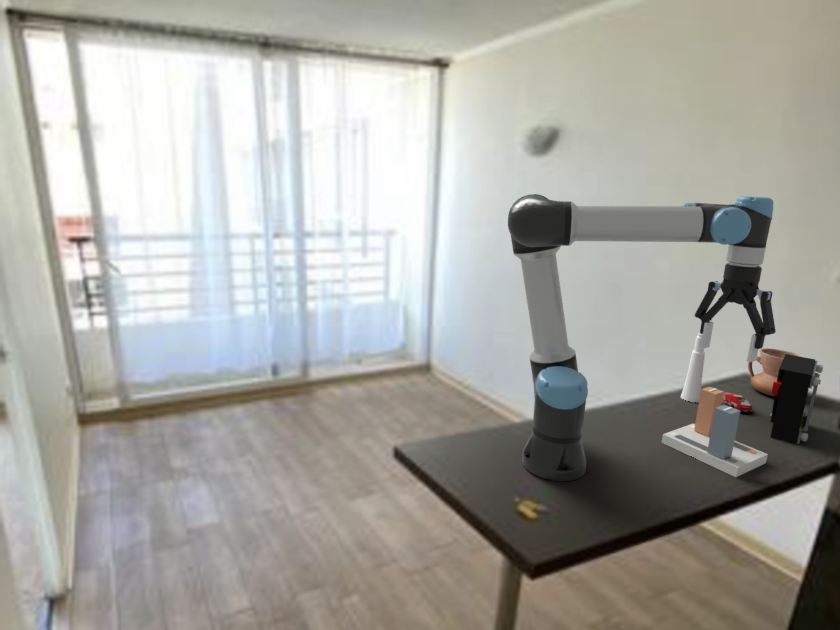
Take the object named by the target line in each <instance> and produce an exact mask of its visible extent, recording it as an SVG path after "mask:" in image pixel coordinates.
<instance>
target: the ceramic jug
mask: <svg viewBox="0 0 840 630" xmlns="http://www.w3.org/2000/svg"><path fill="white" fill-rule="evenodd" d="M785 354H789V355H794V356H800V357H804V356H803V355H801V354H799V353H797V352H793V351H788V350H784V349H783V350H781V349H776V348H766V347H765V348H761V349H760V354H759V355H760V356H758V355H757V359H756V361H757V362H758V363H759V364H760V365H761V367H762V370H763V371H761V372H759V373H757V374H755V373H754V370H753V362H748V361H747V370H748V373H749V376H750V384H751V386H752V387H753V388H754V389H755V390H756V391H758V392H760V393H762V394H764V395H767V396H769V397H774V396H775V395H773V394H772V388H773V382H777V377H778V373H779V368H780V366H781V364H782V361H783V359H784V356H785ZM756 361H755V362H756Z"/></svg>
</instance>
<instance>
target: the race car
mask: <svg viewBox="0 0 840 630" xmlns="http://www.w3.org/2000/svg"><path fill="white" fill-rule="evenodd" d="M722 404H724V405H726V406H729V407H732V408H734V409H737V410H740V413H749V414H750V413H752V411H753V405H752V403H750V402H749V400H748V399H746V398H745V397H744V396H743V395H742V394H739V393H732V392H725V391H724V396H723V401H722Z"/></svg>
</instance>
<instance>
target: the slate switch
mask: <svg viewBox="0 0 840 630" xmlns="http://www.w3.org/2000/svg"><path fill="white" fill-rule="evenodd" d="M740 414H741V412H740V410H737V409H734V408H732V407H729V406H727V405H726V404H722V406H719V407H716V408H715V412H714V417H713V423H712V428H711V434H710V439H709V445H708V450H707V453H710V454H712V455H714V456H716V457H719V458H721V459H725V458H727V457H729V456H732V451H733V446H734V441H736V436H737V430H738V425H739V420H740Z"/></svg>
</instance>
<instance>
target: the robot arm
mask: <svg viewBox="0 0 840 630" xmlns="http://www.w3.org/2000/svg"><path fill="white" fill-rule="evenodd" d="M773 213H774V200H773V199H772V198H770V197H766V196H748V195H747V196H744V195H743V196H738V197H737V198H736V201H735V203H734V204H723V203H722V204H721V203H704V202H703V203H702V202H685V203H682V204H681V205H680V206H672V205H671V206H667V205H666V206H659V205H658V206H657V205H655V206H651V205H649V206H647V205H646V206H645V205H643V206H641V205H640V206H637V205H634V206H633V205H631V206H629V205H627V206H626V205H625V206H624V205H623V206H622V205H621V206H619V205H616V206H613V205H612V206H611V205H610V206H609V205H606V206H605V205H603V206H602V205H601V206H600V205H596V206H595V205H592V206H591V205H589V206H588V205H587V206H585V205H582V206H581V205H576V203H574V202H573V201H569V200H568V201H560V200H552V199H549V198H548V197H546V196H544V195H541V194H537V193H534V194H526V195H522V196H521V197H519V198H518V199H517V200H515V201H514V202H513V203H512V205H511V207H510V208H509V211H508V215H507V216H508V217H507V227H508V232H509V234H510V238H511V239H510V240H511V247H512V251H513V255H514V256H515V257H517V258H518V259H519V260H520V263H521V269H522V270H521V271H522V276H523V283H524V288H525V289H524V291H525V295H526V303H527V304H526V305H527V310H528V316H529V322H530V329H531V336H532V343H533V351H532V353H531V354H530V355H529V361H530V363H529V364H530V367H531V369H530V370H531V375H532V377H531V378H532V383H533V393H534V394H533V395H534V406H533V418H532V429H531V432H530V433H531V434H530V435H529V437H528V439H527V441H526V444H525V446H524V448H523V450H522V457H521V463H522V465H523V468H525V469H526V470H527V471H528V472H529V473H531V474H533V475H534V476H536V477H538V478H542V479H546V480H549V481H555V482H570V481H575V480H578V479H580V478H582V477H583V476H584V475H585V473H586V468H587V458H586V454H585V449H584V445H583V440H582V437H583V429H584V419H585V413H586V412H585V411H586V406H587V405H586V404H587V399H588V393H589V389H588V381H587V378H586V376H585V375H584V374H582V373H581V372H580V371H579V368H578V361H577V360H578V359H577V355H576V354H577V353H576V350H575V349H573V348H572V347H571V346H569V340H568V334H567V333H568V332H567V325H566V319H565V313H564V312H565V311H564V305H563V304H564V303H563V298H562V290H561V282H560V276H559V269H558V260H557V252H558V251H559V250H560V249H561V247H562V246H568V247H569V246H571V245H572V244H573V243H574V242H636V243H637V242H641V243H642V242H652V243H653V242H654V243H656V242H658V243H660V242H661V243H664V242H665V243H717V244H720V245H725V246H726V245H728V249H727V253H726V257H725V261H726V262H727V263H725V264H724V269H723V280H722V282H719V280H714V281H713V280H712V281H709V282H708V286H707V290H706V292H705V295H704V297H703V298H702V300H701V302H700V304H699V305H698V308H697V309H696V311H695V313H694V317H695V318H698V319H700V321H701V322H700V323H701V324H700V328H699V333H700V334H703V336H702V342H701V347H700V348H703V349H704V350H705V349H707V348H710V345H711V339H712V333H713V329H714V324H715V322H714V321H712V320H713V318H714V317H715V316H716V315H717V314H718V313H719V312H720V311H721V310H722V309H723V308H724V307H725V305H727V304H728V303H731V304H732V303H735V304H737V305H742V307H743V308H744V309H745V311H746V314H747V316H748V318H749V320H750V323H751V324H752V325H751V326H752V327H753V330H754V332H755V333H752V334H751V337H750V343H749V348H748V354H747V357H746V362H747V363H748V362H752V363H753V362H756V359H757V356H758V353H759V350H761V349H763V348H764V343H765V339H766V338H765V337H766V336H769V335H772V334H776V332H777V331H776V325H775V319H774V312H773V307H772V297H773V292H772V290H761V289H760V287H759V284H760V281H761V275H762V271H763V268H762V266H761V265H762V264H764V261H765V253H766V249H767V242H768V237H769V233H770V228H771V224H772V220H773ZM720 290H721V292H722V294H721V295H720V297H718V299H717V301H715V303H714V304H713V305H712V306H711V304H712V303H713V301H714V299H715V297H716V295H717V293H718V291H720ZM757 296H758V299H759V305H760V311H761V315H760V313H759V311H758V308H757V302H756V300H755V298H756V297H757ZM710 306H711V307H710ZM761 316H762V317H761Z"/></svg>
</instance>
